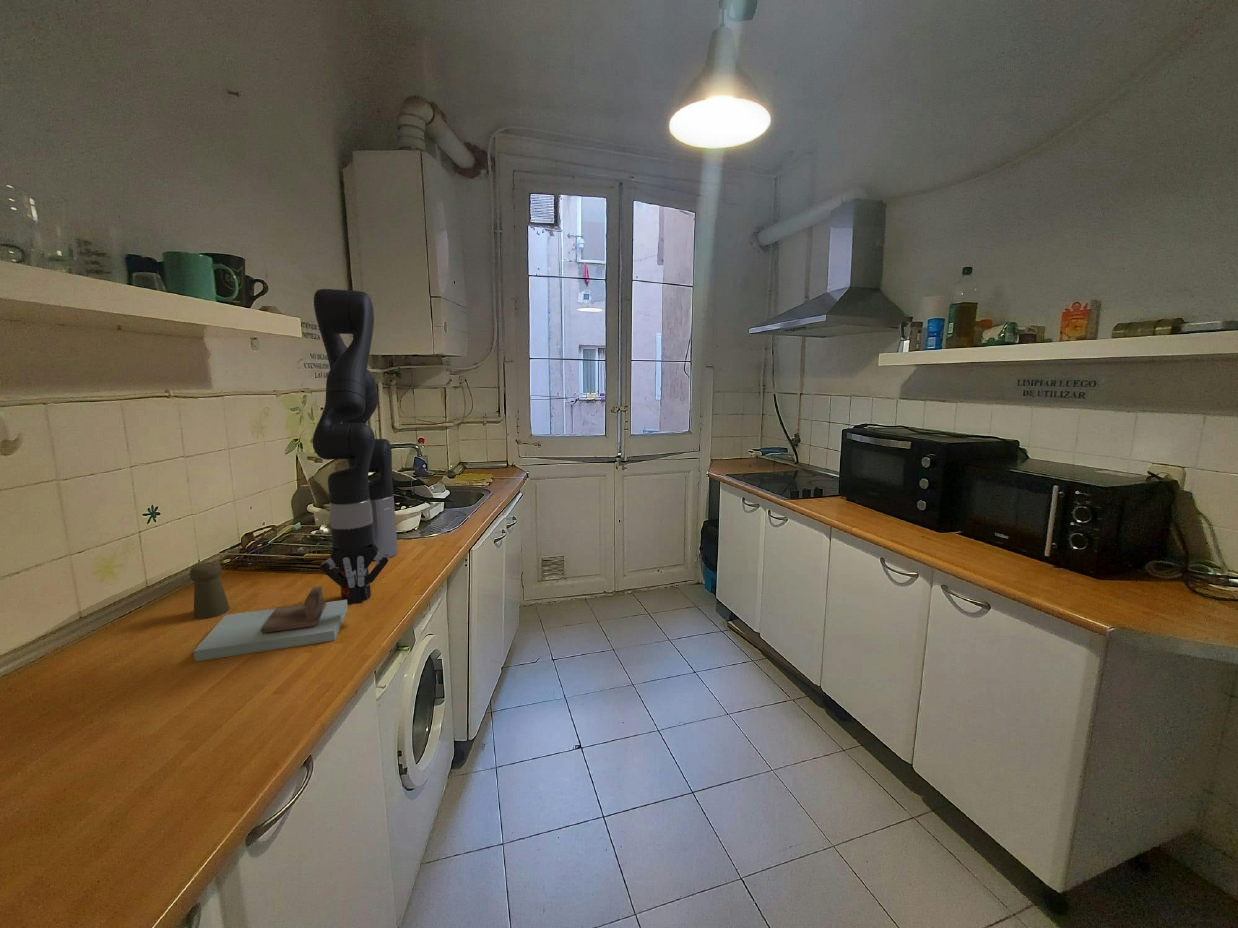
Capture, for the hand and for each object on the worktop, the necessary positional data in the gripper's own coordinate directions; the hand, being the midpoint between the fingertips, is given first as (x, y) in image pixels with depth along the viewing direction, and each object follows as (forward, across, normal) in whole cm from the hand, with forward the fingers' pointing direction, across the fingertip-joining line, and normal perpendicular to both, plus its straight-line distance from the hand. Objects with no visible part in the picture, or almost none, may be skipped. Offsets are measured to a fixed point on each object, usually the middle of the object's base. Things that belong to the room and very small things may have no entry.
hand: (359, 601), depth 101 cm
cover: (+2, +12, 0) cm, 12 cm away
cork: (+4, +30, -14) cm, 34 cm away
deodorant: (+4, +2, -12) cm, 13 cm away
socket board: (+4, +14, 0) cm, 15 cm away
